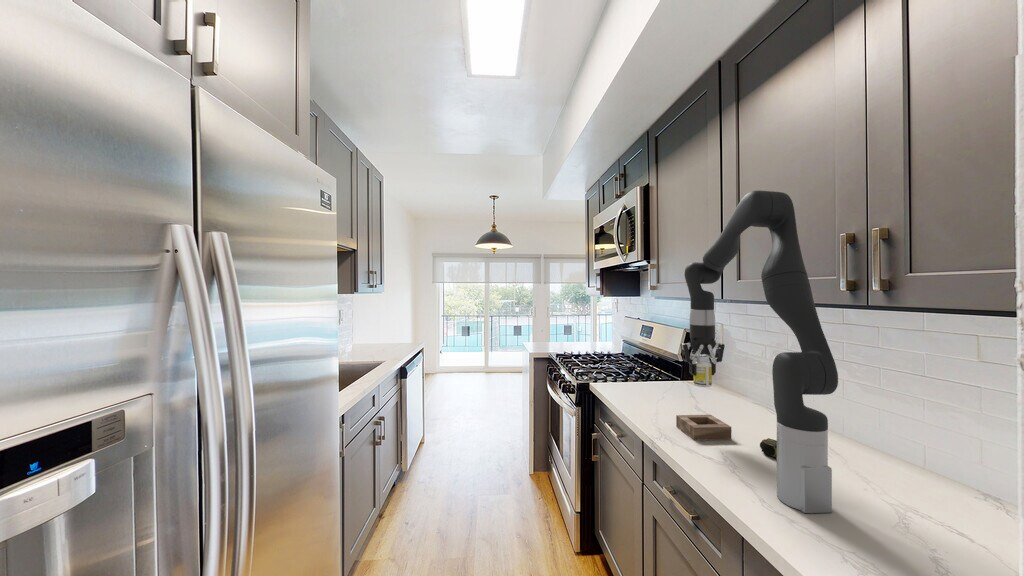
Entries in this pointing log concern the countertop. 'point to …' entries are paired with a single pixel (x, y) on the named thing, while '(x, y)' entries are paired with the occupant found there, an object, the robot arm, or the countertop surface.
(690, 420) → the socket block
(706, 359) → the supplement bottle
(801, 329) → the robot arm
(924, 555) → the countertop surface
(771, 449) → the tape measure
